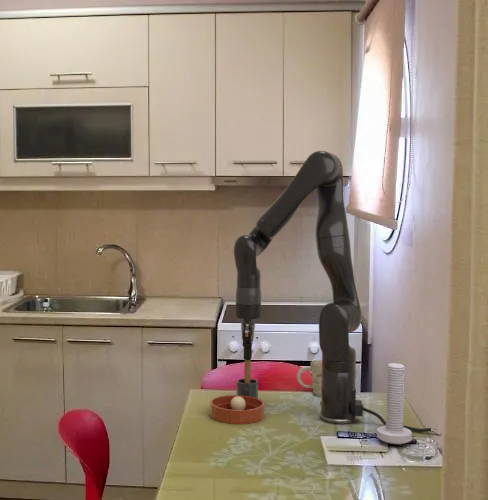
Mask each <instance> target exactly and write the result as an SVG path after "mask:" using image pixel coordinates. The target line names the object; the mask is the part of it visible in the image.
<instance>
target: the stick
mask: <svg viewBox="0 0 488 500" xmlns="http://www.w3.org/2000/svg"><path fill="white" fill-rule="evenodd" d="M251 361H252V359H251V360H244V378H243V379H244V383H245V384H250V379H252V378H251V376H252V375H251V373H252V372H251V369H252V366H251V365H252V362H251Z"/></svg>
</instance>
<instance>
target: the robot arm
mask: <svg viewBox="0 0 488 500" xmlns="http://www.w3.org/2000/svg"><path fill="white" fill-rule="evenodd" d="M314 190H316V195H317V201H318V202H317V203H318V204H317V205H318V208H317V215H316V222H315V244H316V252H317V256H318V257H317V258H318V260H319V262H320V264H321V266H322V268H323V270H324V272H325V274H326V275H327V277H328V279H329V283H330V286H331V292H332V302H329V303H326V304H324V306H322V307H321V310H320V312H319V316H318V345H319V348H320V351H321V360H322V385H321V396H320V402H319V403H320V404H319V405H320V419H321V420H322V421H324V422H327V423H330V424H340V425H343V424H351V423H352V424H353V423H356V417H363V416H364V412H366V413H367V414H371V415H373V416H374V417H376V418H377V419H379V421H380V422H381V423H382V424H383V426H387V425H386V421H387V420H386V419H384V418H383V417H382V416H381V415H380V414H379V413H378V412H376V411H374V410H371V409H369V408H366V407H364V404H363V401H362V400H360V399H357V388H356V371H357V370H356V365H357V361H356V359H357V351H356V349H355V348H354V347H352V346H351V345H350V336H349V335H350V334H349V333H353V332H355V331H356V330H358V329H359V327H360V326H361V323H362V318H363V317H362V316H363V315H362V309H361V303H360V301H359V300H360V299H359V296H358V292H357V288H356V282H355V274H354V273H355V272H354V267H353V266H354V265H353V258H352V248H351V239H350V231H349V226H348V225H349V224H348V219H347V212H346V208H345V207H346V206H345V201H344V200H345V199H344V168H343V164H342V160H341V159H340V158H339V157H338V156H337V155H336V154H334V153H332V152H329V151H325V150H316V151H314V152H312V153H311V154H310V155H308V157H307V158H306V160H305V161H304V162H303V164H302V165H301V166H300V168H299V170H298V171H297V172H296V174H295V176H294V177H293V178H292V180H291V181H290V182H289V184H288V185H287V187H286V188H285V189H284V190H283V191H282V193H281V194H280V195H279V196H278V197H277V199H276V200H274V202H273V203H272V204H271V205H270V206H269V207H268V208H267V209H266V210H265V211H264V212H263V213H262V215H260V217H258V219H257V221H256V222H255V226H254V228H252V230H251V231H250V232H249V233H248V234H242V235H240V236H238V237H237V238H236V240H235V242H234V244H233V257H234V263H235V268H236V290H235V317H236V318H237V319H243V322H241V324H240V330H241V340H242V347H243V360H244V361H245V360H251V361H252V357H253V345H254V338H255V328H256V323H255V322H253V320H257V319H260V318H261V316H262V290H261V270H260V268H259V267H258V266H257V265H258V264H257V257H258V256H260V255H262V253H263V252H265V250H266V249H267V248H268V246H269V245H270V244H271V242H272V241H273V239H274V238H275V236H277V235H278V234H279V233H280V232H281V231H282V230H283V229H284V228H285V226H286V225H287V224H288V223H289V222H290V221H291V220H292V218H294V215H295V214H296V213H297V211H298V209H299V208H300V207H301V205H302V204H303V203H304V201H305V199H306V198H307V197H308V196H309V195H310V194H311V193H312V192H313V191H314ZM402 425H403V427H404V428H407V429H409V430H410V431H411V432H417V433H427V432H428V433H429V432H431V433H432V432H433V433H435V432H434V431H431V428H432V427H425V428H420V427H419V428H418V427H413V426H409V425H406V424H405V425H404V424H402Z"/></svg>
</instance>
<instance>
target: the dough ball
mask: <svg viewBox="0 0 488 500" xmlns="http://www.w3.org/2000/svg"><path fill="white" fill-rule="evenodd" d="M245 406H246V402H245V400H244V399H243V398H242V397H240V396H236V397H234V398H233V399H232V400H231V408H232V409H233V410H244V409H245Z"/></svg>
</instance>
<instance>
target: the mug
mask: <svg viewBox="0 0 488 500" xmlns="http://www.w3.org/2000/svg"><path fill="white" fill-rule="evenodd" d="M304 372H310V373H311V382H312V384H305V383H304V382H303V380H302V374H303V373H304ZM296 380H297V382H298V384H299V385H301V387H303V388H306V389H312V392H313V395H315V396H317V397H321V385H322V359H315V360H312V361H310V366H302V367H301V368H300V369H299V370H298V371H297V373H296Z"/></svg>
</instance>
